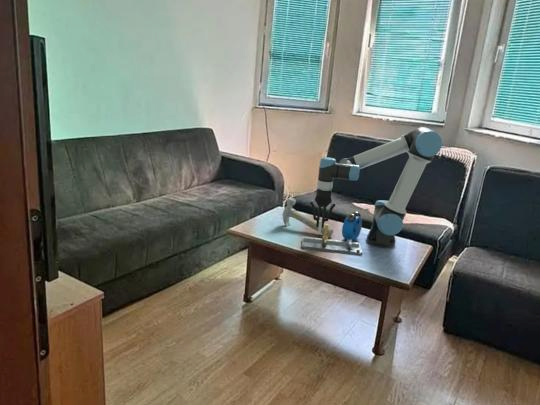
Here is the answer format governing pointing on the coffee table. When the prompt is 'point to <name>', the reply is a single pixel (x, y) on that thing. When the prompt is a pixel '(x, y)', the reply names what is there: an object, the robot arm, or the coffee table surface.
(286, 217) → the hammer
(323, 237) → the sliding leg
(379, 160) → the robot arm
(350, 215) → the alarm clock
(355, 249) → the bolt plate
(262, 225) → the coffee table surface
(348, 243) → the bar
